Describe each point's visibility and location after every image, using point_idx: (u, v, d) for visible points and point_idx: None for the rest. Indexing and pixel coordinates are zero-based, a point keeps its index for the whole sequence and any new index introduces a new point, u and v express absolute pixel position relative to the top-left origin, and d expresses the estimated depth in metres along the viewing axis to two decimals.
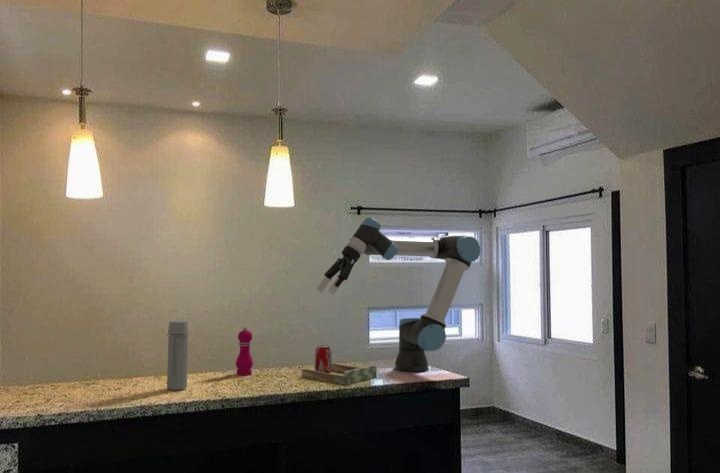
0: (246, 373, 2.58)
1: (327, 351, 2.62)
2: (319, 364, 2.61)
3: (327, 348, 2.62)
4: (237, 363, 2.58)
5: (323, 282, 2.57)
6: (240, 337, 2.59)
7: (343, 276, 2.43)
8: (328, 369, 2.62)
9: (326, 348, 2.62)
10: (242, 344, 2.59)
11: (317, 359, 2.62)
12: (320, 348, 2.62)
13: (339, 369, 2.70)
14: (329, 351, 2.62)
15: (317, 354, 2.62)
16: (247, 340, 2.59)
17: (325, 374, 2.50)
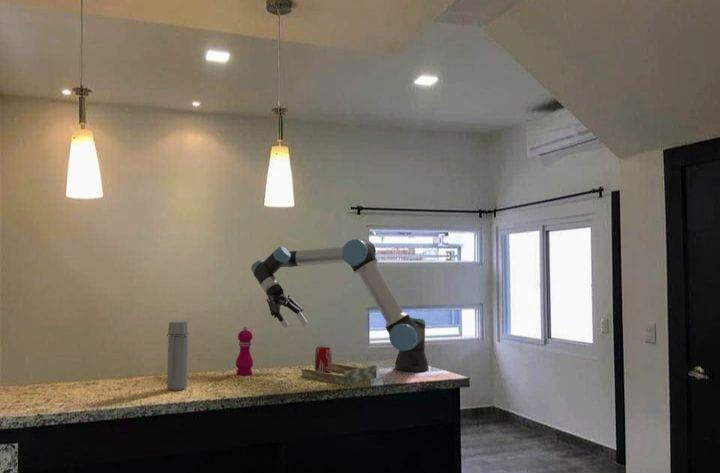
0: (246, 373, 2.58)
1: (327, 351, 2.62)
2: (319, 364, 2.61)
3: (327, 348, 2.62)
4: (237, 363, 2.58)
5: (299, 318, 2.81)
6: (240, 337, 2.59)
7: (272, 314, 2.71)
8: (328, 369, 2.62)
9: (326, 348, 2.62)
10: (242, 344, 2.59)
11: (317, 359, 2.62)
12: (320, 348, 2.62)
13: (339, 369, 2.70)
14: (329, 351, 2.62)
15: (317, 354, 2.62)
16: (247, 340, 2.59)
17: (325, 374, 2.50)
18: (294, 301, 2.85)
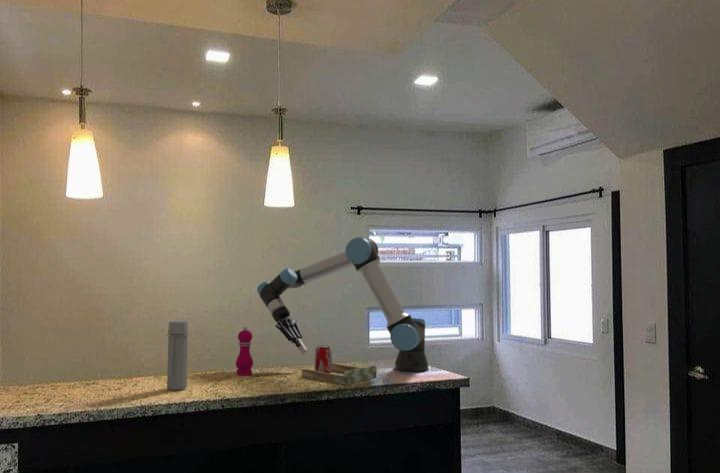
0: (246, 373, 2.58)
1: (327, 351, 2.62)
2: (319, 364, 2.61)
3: (327, 348, 2.62)
4: (237, 363, 2.58)
5: None
6: (240, 337, 2.59)
7: (289, 339, 2.71)
8: (328, 369, 2.62)
9: (326, 348, 2.62)
10: (242, 344, 2.59)
11: (317, 359, 2.62)
12: (320, 348, 2.62)
13: (339, 369, 2.70)
14: (329, 351, 2.62)
15: (317, 354, 2.62)
16: (247, 340, 2.59)
17: (325, 374, 2.50)
18: (298, 326, 2.79)
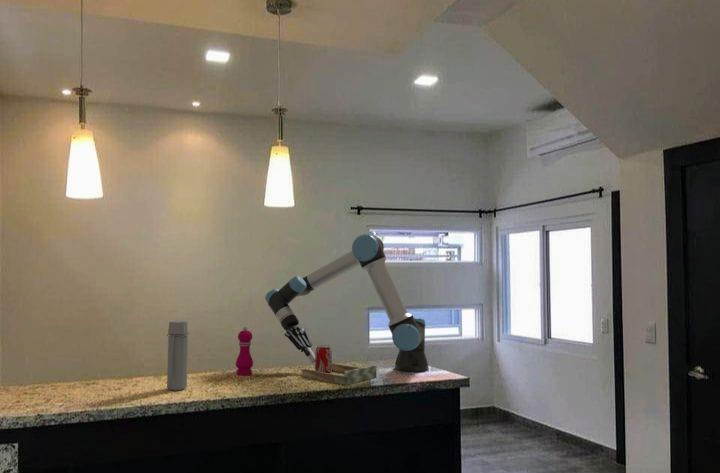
0: (246, 373, 2.58)
1: (327, 351, 2.62)
2: (319, 364, 2.61)
3: (327, 348, 2.62)
4: (237, 363, 2.58)
5: None
6: (240, 337, 2.59)
7: (298, 348, 2.68)
8: (328, 369, 2.62)
9: (326, 348, 2.62)
10: (242, 344, 2.59)
11: (317, 359, 2.62)
12: (320, 348, 2.62)
13: (339, 369, 2.70)
14: (329, 351, 2.62)
15: (317, 354, 2.62)
16: (247, 340, 2.59)
17: (325, 374, 2.50)
18: (307, 335, 2.76)
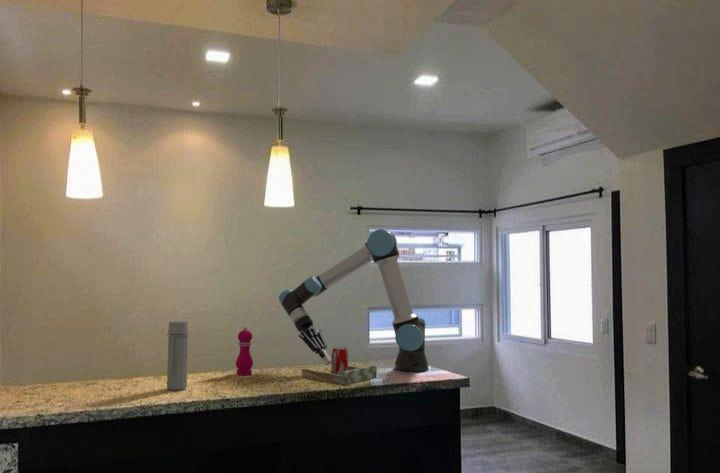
0: (246, 373, 2.58)
1: (346, 353, 2.58)
2: (339, 366, 2.56)
3: (346, 350, 2.59)
4: (237, 363, 2.58)
5: None
6: (240, 337, 2.59)
7: (313, 350, 2.62)
8: None
9: (345, 350, 2.58)
10: (242, 344, 2.59)
11: (337, 361, 2.56)
12: (340, 350, 2.57)
13: None
14: (347, 352, 2.59)
15: (337, 356, 2.57)
16: (247, 340, 2.59)
17: (325, 374, 2.50)
18: (322, 336, 2.70)
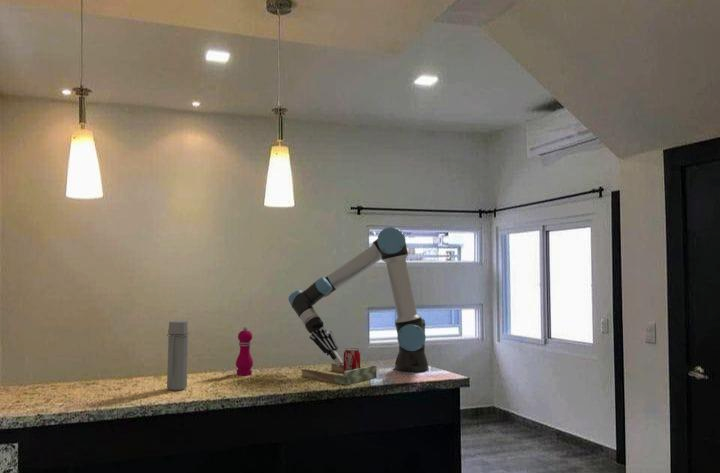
0: (246, 373, 2.58)
1: None
2: (355, 368, 2.54)
3: (358, 350, 2.57)
4: (237, 363, 2.58)
5: None
6: (240, 337, 2.59)
7: (324, 352, 2.59)
8: None
9: (358, 350, 2.57)
10: (242, 344, 2.59)
11: (353, 363, 2.53)
12: (355, 351, 2.54)
13: (339, 369, 2.70)
14: None
15: (353, 358, 2.54)
16: (247, 340, 2.59)
17: (325, 374, 2.50)
18: (332, 338, 2.67)
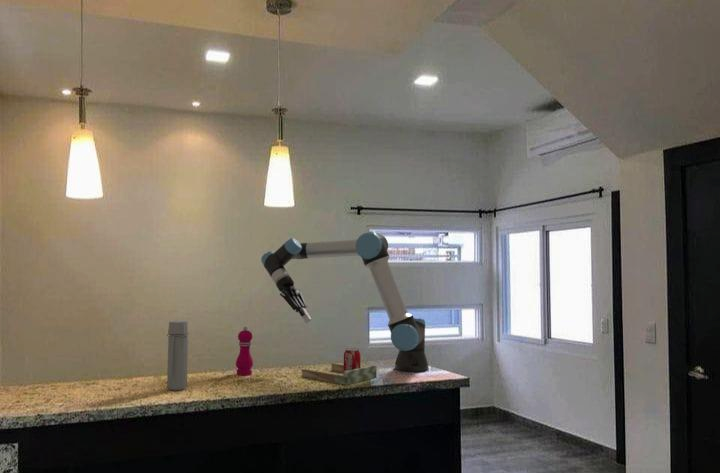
0: (246, 373, 2.58)
1: None
2: (355, 368, 2.54)
3: None
4: (237, 363, 2.58)
5: None
6: (240, 337, 2.59)
7: (293, 308, 2.71)
8: None
9: None
10: (242, 344, 2.59)
11: (353, 363, 2.53)
12: (355, 351, 2.54)
13: (339, 369, 2.70)
14: None
15: (353, 358, 2.53)
16: (247, 340, 2.59)
17: (325, 374, 2.50)
18: (302, 297, 2.79)
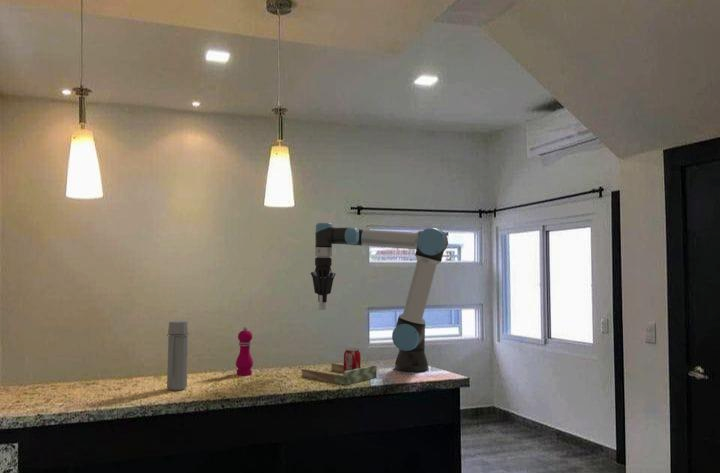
0: (246, 373, 2.58)
1: None
2: (355, 368, 2.54)
3: None
4: (237, 363, 2.58)
5: None
6: (240, 337, 2.59)
7: (327, 292, 2.75)
8: None
9: (359, 351, 2.57)
10: (242, 344, 2.59)
11: (353, 363, 2.53)
12: (355, 351, 2.54)
13: (339, 369, 2.70)
14: None
15: (353, 358, 2.54)
16: (247, 340, 2.59)
17: (325, 374, 2.50)
18: None
